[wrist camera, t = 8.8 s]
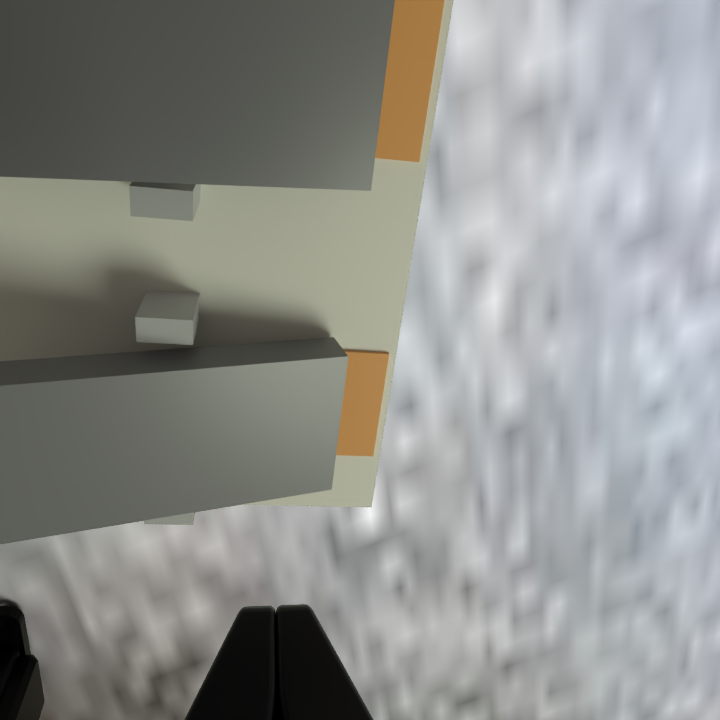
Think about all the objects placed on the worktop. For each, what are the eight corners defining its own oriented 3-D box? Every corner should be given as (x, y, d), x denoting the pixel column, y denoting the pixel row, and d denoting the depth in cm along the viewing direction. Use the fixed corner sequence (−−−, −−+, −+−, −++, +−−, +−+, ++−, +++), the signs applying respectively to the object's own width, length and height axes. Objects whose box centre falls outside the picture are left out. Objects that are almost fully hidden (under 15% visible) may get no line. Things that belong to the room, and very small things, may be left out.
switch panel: (4, 434, 20) (-61, 539, 17) (-206, -880, 10) (-539, -1477, 6) (360, 446, 22) (377, 544, 18) (520, -668, 11) (649, -1016, 7)
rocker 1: (-73, 159, 12) (-85, 173, 11) (-122, -114, 10) (-143, -121, 9) (356, 178, 14) (370, 190, 14) (380, -36, 13) (399, -37, 12)
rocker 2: (-10, 515, 15) (-13, 546, 15) (-38, 363, 14) (-43, 389, 13) (319, 466, 18) (331, 489, 18) (334, 336, 17) (348, 356, 16)
